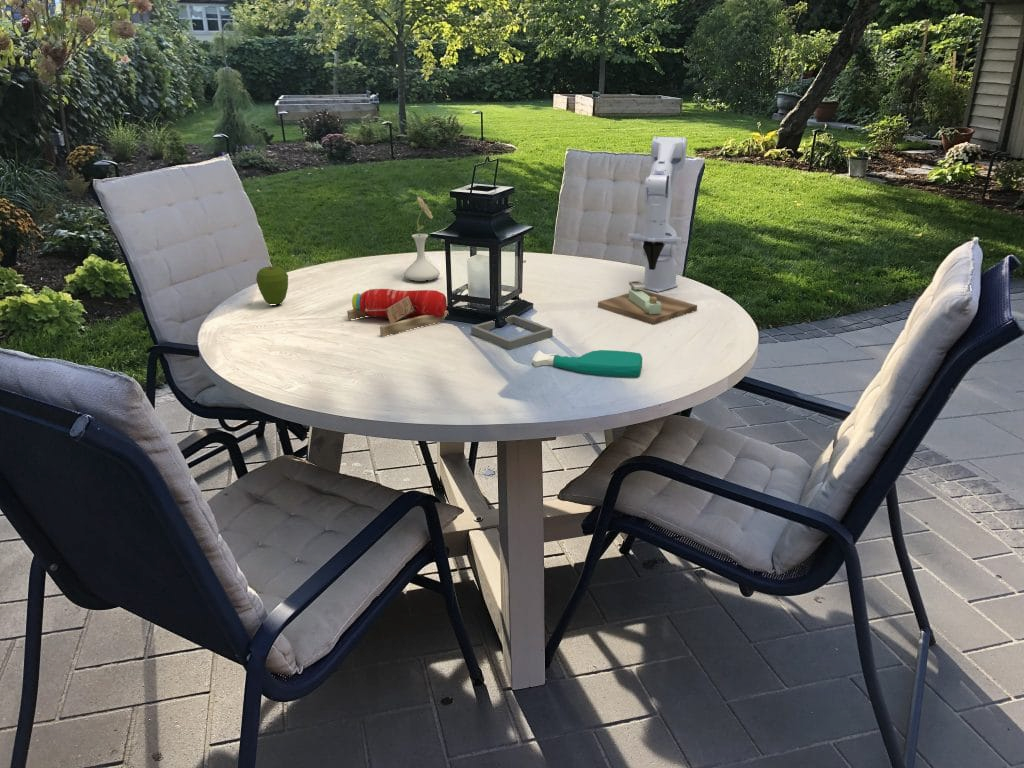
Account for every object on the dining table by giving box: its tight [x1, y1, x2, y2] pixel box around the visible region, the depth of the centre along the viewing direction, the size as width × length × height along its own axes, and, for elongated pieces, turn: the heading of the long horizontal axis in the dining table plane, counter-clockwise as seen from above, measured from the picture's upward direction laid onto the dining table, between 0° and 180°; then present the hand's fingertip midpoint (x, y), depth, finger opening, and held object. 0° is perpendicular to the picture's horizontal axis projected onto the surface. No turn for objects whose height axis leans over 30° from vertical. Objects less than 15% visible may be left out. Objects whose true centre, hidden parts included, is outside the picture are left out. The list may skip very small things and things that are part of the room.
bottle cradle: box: [346, 308, 449, 337], centre depth 205 cm, size 20×18×2 cm
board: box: [597, 280, 698, 325], centre depth 212 cm, size 18×20×6 cm
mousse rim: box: [470, 314, 554, 350], centre depth 194 cm, size 14×15×2 cm
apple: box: [255, 265, 289, 305], centre depth 216 cm, size 9×8×12 cm
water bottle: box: [351, 288, 448, 324], centre depth 204 cm, size 12×8×25 cm
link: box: [628, 289, 661, 314], centre depth 210 cm, size 14×4×2 cm, turn 15°
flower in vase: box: [403, 196, 441, 282], centre depth 238 cm, size 13×11×25 cm
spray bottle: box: [531, 349, 643, 378], centre depth 175 cm, size 3×11×24 cm
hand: (652, 268), depth 216 cm, fingers closed
